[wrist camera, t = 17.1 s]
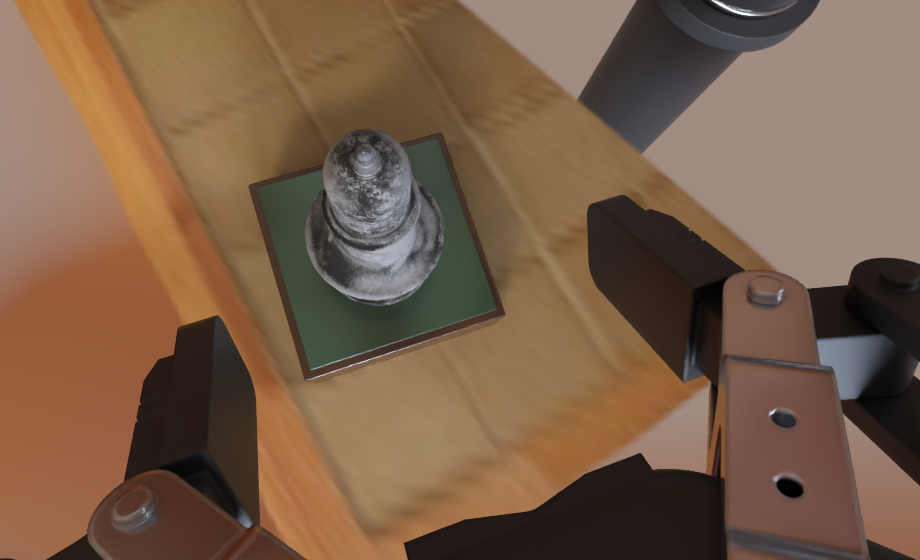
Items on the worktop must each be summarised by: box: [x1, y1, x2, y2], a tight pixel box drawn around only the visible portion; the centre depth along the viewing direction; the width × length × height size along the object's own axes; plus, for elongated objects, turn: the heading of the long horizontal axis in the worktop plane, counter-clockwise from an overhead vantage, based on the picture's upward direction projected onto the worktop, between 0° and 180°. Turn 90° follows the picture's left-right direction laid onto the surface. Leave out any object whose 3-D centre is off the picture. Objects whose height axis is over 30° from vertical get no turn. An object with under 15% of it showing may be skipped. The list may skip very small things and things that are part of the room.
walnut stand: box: [249, 133, 506, 383], centre depth 30 cm, size 10×10×4 cm
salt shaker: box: [305, 129, 445, 306], centre depth 23 cm, size 6×6×12 cm
